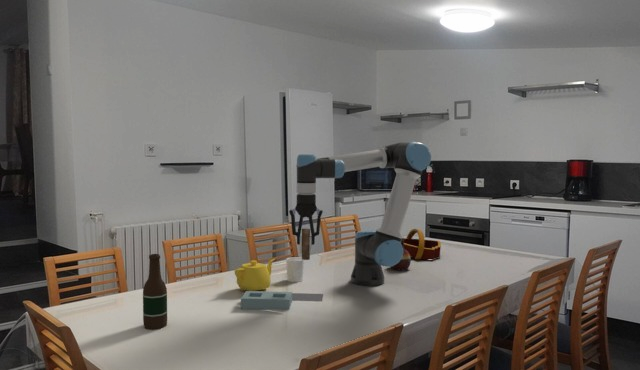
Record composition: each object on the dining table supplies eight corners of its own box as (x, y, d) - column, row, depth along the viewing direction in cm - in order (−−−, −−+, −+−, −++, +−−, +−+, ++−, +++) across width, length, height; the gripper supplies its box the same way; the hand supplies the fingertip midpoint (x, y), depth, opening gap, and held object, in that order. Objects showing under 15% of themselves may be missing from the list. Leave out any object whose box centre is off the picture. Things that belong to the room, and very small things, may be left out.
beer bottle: (146, 322, 172) (145, 252, 171) (169, 321, 173) (169, 252, 171) (140, 330, 164) (139, 257, 163) (164, 329, 165) (164, 257, 163)
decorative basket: (444, 265, 273) (449, 238, 272) (391, 256, 273) (396, 229, 272) (432, 253, 306) (436, 229, 306) (385, 245, 307) (389, 221, 306)
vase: (385, 269, 252) (386, 239, 251) (391, 265, 262) (391, 235, 261) (407, 272, 248) (408, 240, 246) (412, 267, 258) (413, 237, 257)
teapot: (283, 289, 215) (283, 260, 214) (244, 297, 202) (244, 267, 201) (265, 282, 225) (265, 254, 224) (226, 290, 212) (225, 261, 211)
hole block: (292, 302, 197) (292, 292, 196) (289, 310, 187) (289, 299, 186) (246, 301, 197) (246, 290, 197) (240, 309, 188) (240, 298, 187)
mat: (323, 294, 207) (323, 293, 207) (322, 302, 197) (322, 301, 197) (289, 293, 208) (289, 293, 208) (286, 301, 198) (286, 300, 198)
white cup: (301, 283, 224) (301, 261, 223) (284, 282, 225) (284, 260, 225) (305, 279, 232) (305, 257, 231) (288, 278, 233) (288, 256, 232)
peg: (311, 258, 202) (311, 228, 201) (307, 260, 199) (307, 229, 198) (303, 257, 203) (303, 228, 203) (300, 259, 200) (300, 229, 200)
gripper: (327, 193, 203) (326, 251, 205) (286, 192, 204) (286, 250, 205) (326, 194, 195) (325, 255, 197) (284, 194, 196) (284, 254, 198)
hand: (305, 252), depth 201 cm, fingers closed on peg, 3 cm apart
